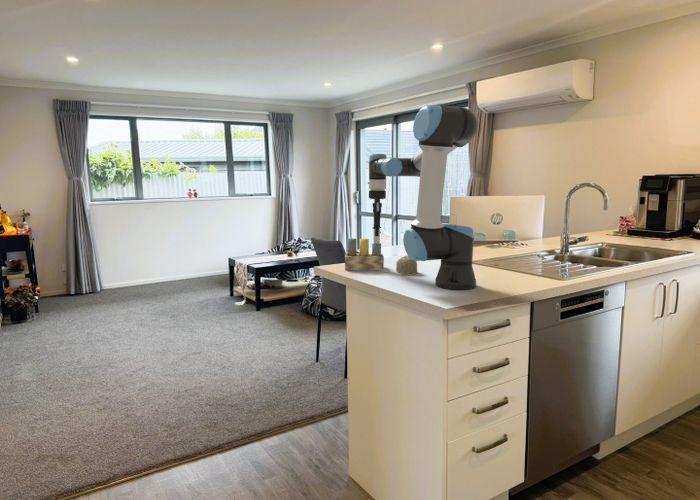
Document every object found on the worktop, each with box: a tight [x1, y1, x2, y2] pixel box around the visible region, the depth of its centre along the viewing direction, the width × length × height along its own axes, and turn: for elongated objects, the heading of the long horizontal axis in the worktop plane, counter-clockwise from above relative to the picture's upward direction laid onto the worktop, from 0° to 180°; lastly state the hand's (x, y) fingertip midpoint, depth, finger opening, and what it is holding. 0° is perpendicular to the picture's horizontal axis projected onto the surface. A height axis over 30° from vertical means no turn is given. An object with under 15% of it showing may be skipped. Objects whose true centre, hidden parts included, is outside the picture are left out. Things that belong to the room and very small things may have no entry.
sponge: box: [395, 255, 418, 275], centre depth 201 cm, size 9×10×10 cm
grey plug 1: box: [346, 237, 357, 256], centre depth 209 cm, size 4×4×9 cm
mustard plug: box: [359, 238, 370, 256], centre depth 209 cm, size 4×4×9 cm
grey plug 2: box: [371, 243, 382, 256], centre depth 209 cm, size 4×4×9 cm
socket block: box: [344, 253, 385, 271], centre depth 210 cm, size 17×8×6 cm, turn 90°
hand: (376, 243), depth 208 cm, fingers closed
